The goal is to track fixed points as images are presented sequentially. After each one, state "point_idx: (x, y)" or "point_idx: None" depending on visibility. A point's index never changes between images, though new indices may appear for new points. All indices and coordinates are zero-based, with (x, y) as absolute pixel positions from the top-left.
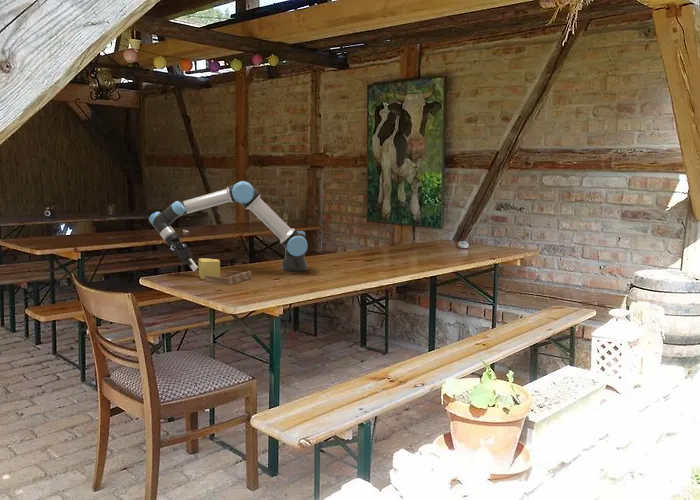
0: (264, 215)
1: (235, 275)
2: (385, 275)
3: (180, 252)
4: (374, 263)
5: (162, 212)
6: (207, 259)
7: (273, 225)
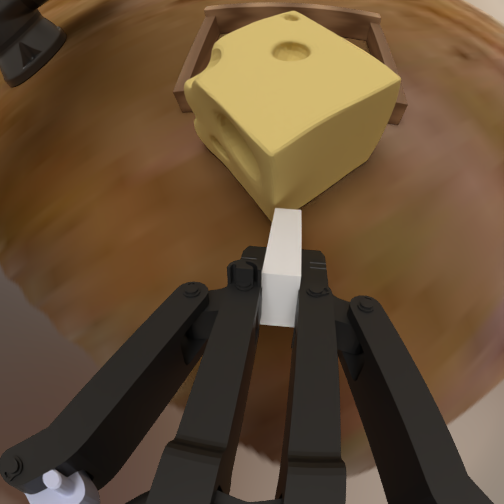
0: None
1: (338, 8)
2: None
3: (400, 396)
4: None
5: None
6: (273, 75)
7: None
